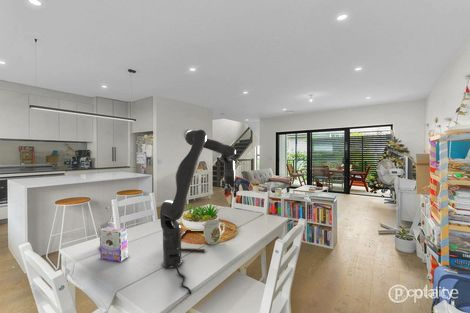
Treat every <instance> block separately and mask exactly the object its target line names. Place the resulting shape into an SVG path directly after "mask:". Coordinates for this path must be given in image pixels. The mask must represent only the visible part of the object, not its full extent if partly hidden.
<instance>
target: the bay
mask: <svg viewBox="0 0 470 313" xmlns="http://www.w3.org/2000/svg"><path fill="white" fill-rule="evenodd" d="M191 230H192V229H191ZM191 230H190V228H186V229H185V230H184V231H182V232H181V239H182V238H183V237H184V236H185V235H186V234H187V233H197V234H198V233H199V234H204V232H203V231H191ZM181 252H191V253H205V252H206V249H205V248H195V247H181Z"/></svg>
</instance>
